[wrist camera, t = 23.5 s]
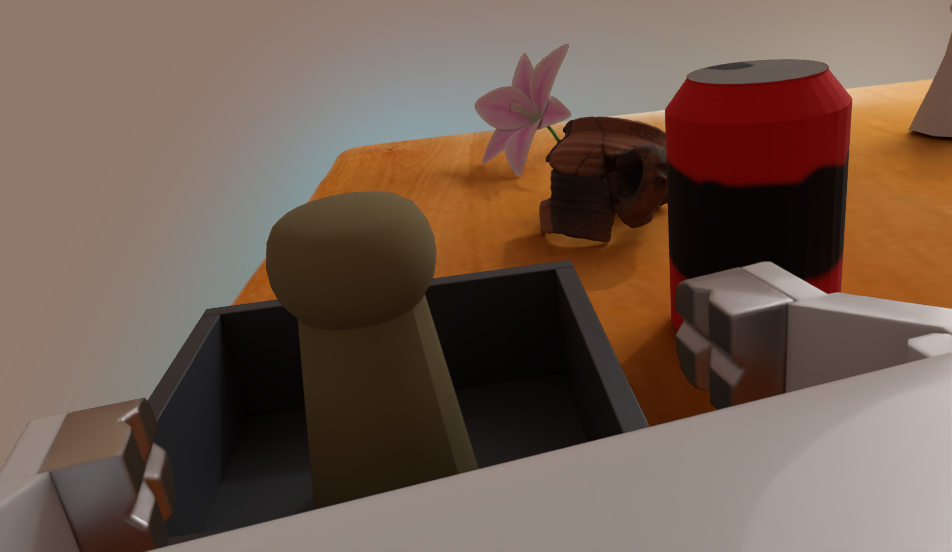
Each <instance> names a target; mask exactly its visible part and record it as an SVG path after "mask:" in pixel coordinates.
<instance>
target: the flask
mask: <svg viewBox="0 0 952 552" xmlns="http://www.w3.org/2000/svg"><path fill="white" fill-rule="evenodd" d="M950 10H951V12H952V4H951V6H950ZM909 130H913V131H917V132H920V133H924V134H927V135H931V136H943V137H952V34H951V37H950V41H949V44H948V47H947V51H946V54H945V56H944V59H943V61H942V63H941V65H940V67H939V69H938V71H937V73H936V76H935V78H934V80H933V82H932V84H931V86H930V88H929V90H928V92H927V94H926V96H925V98H924V100H923V102H922V104H921V106H920V108H919V110H918V112H917V114H916V116H915V118H914V120H913V122H912V124H911V126H910V128H909Z"/></svg>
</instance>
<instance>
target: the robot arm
mask: <svg viewBox="0 0 952 552" xmlns="http://www.w3.org/2000/svg"><path fill="white" fill-rule="evenodd" d="M675 310H676V311H677V312H678V313H679V315H680V316H681V317H682V318H683V319H684V322H683V324H682V325H681V327H680V329H679V330H678V332H677V334H676V344H677V355H678V358H679V362H680V365H681V368H682V371H683V373H684V374H685V376H686V378H687V379H688V381H689V382H690V383H691V384H692V385H693V386H694V387H695V388H696V389H699V390H703V391H706V392H709V393H710V403H711V404H712V405H713V406H714V407H715V408H716V409H717V410H716V411H712V412H708V413H704V414H700V415H696V416H692V417H688V418H684V419H680V420H676V421H672V422H668V423H664V424H660V425H656V426H652V427H647V428H643V429H639V430H635V431H631V432H627V433H623V434H619V435H615V436H611V437H607V438H603V439H599V440H595V441H591V442H587V443H583V444H579V445H575V446H571V447H567V448H563V449H559V450H555V451H551V452H547V453H542V454H538V455H534V456H530V457H526V458H522V459H518V460H514V461H510V462H506V463H502V464H498V465H494V466H490V467H486V468H482V469H478V470H474V471H470V472H466V473H462V474H458V475H454V476H450V477H446V478H441V479H437V480H433V481H429V482H425V483H421V484H417V485H413V486H409V487H405V488H401V489H397V490H393V491H389V492H385V493H381V494H377V495H373V496H369V497H365V498H361V499H357V500H353V501H349V502H345V503H340V504H336V505H332V506H328V507H324V508H320V509H316V510H312V511H308V512H304V513H300V514H296V515H292V516H288V517H284V518H280V519H276V520H272V521H268V522H264V523H260V524H256V525H252V526H248V527H244V528H239V529H235V530H231V531H227V532H223V533H219V534H215V535H211V536H207V537H203V538H199V539H195V540H191V541H187V542H183V543H179V544H175V545H171V546H167V541H168V537H169V535H168V532H167V529H166V526H165V522H166V521H167V520H168V519H169V518H170V517H171V516H172V515H173V512H174V506H175V483H174V478H173V473H172V468H171V464H170V461H169V458H168V454H167V451H165V450H164V449H162V448H161V447H160V446H158V445H157V444H155V443H154V442H153V441H154V437H155V434H156V430H157V426H158V424H157V421H156V418H155V416H154V413H153V410H152V407H151V405H150V403H149V402H148V401H147V400H146V399H145V398H140V399H135V400H131V401H125V402H121V403H116V404H110V405H105V406H100V407H95V408H90V409H85V410H81V411H75V412H72V413H70V412H65V413H61V414H58V415H54V416H49V417H45V418H41V419H37V420H33V421H30V422H28V424H27V425H26V427H25V429H24V431H23V432H22V434H21V436H20V438H19V439H18V441H17V443H16V445H15V446H14V448H13V449H12V451H11V453H10V455H9V456H8V458H7V460H6V461H5V464H4V465H3V467H2V468H1V470H0V552H952V309H948V308H941V307H934V306H927V305H920V304H913V303H906V302H900V301H893V300H886V299H879V298H872V297H865V296H858V295H852V294H845V293H838V292H836V293H831V294H826V293H825V292H823V291H821V290H819V289H818V288H816V287H814V286H812V285H811V284H809V283H807V282H805V281H804V280H802V279H800V278H798V277H796V276H795V275H793V274H791V273H789V272H788V271H786V270H784V269H782V268H781V267H779V266H777V265H775V264H773V263H772V262H760V263H756V264H753V265H749V266H745V267H742V268H740V267H737V268H733V269H729V270H725V271H721V272H717V273H713V274H709V275H704V276H700V277H696V278H692V279H688V280H684V281H682V282H680V283H679V284H677V287H676V292H675ZM166 546H167V547H166Z"/></svg>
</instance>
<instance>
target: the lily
mask: <svg viewBox="0 0 952 552" xmlns="http://www.w3.org/2000/svg"><path fill="white" fill-rule="evenodd" d="M568 48H569V44H565V45H563V46H560V47H559V48H557V49H556V50H554V51H553V52H551V53H550V54H549V55H547V56H546V57H545V58H543V59H542V60H541V62H539V63H538V64H537V65H536V67H535V68H534V69H533V67H532V64H531V62H530V60H529V58H528V56H527V55H526V53H523V55H522V56H521V58H520V60H519V62H518V65H517V67H516V70H515V74H514V77H513V81H512V86H511V87H510V86H508V87H501V88H498V89H495V90H493V91H491V92H489V93H487V94H485V95H484V96H482V97H481V98H479V99H478V100H477V101H476V103H475V109H476V111H477V113H478V114H479V115H480V116H481V117H482V119H483V120H484V121H485V122H487V123H488V124H489V125H490V126H492V127H494V128H497V129H496V130H495V132H494V133H493V135H492V137H491V139H490V141H489V144H488V146H487V148H486V151H485V154H484V157H483V164H485V163H487V162H488V161H490V160H491V159H492V158H494V157H495V156H496V155H498V154H499V153H500V152H502V151H503V150H504V149H505V154H506V157H507V160H508V162H509V165H510V167H511V168H512V170H513V172H514V173H515V175H516V176H519V177H520V175H521V174H522V172H523V169H524V166H525V163H526V159H527V156H528V152H529V149H530V145H531V142H532V139H533V137H534V134H535V132H536V130H539V129H542V128H545V127H547V128H548V129H549V130H550V132H551V133H552V134H553V136H554V137H555V139H556V141H557V142H559V140H560V139H559V138H558V136H557V135H556V133H555V131H554V130H553V129H552V128H551V127H550V126H551V125H553V124H556V123H558V122H561V121H563V120H565V119H568V118H569V117H570V116H571V113H570V111H569V110H568V109H567V108H566V107H565V106H564V105H563V104H562V103H561V102H560V101H559V100H558V99H556V98H555V97H553V96H550V91H551V89H552V85H553V83H554V80H555V77H556V75H557V73H558V70H559V68H560V66H561V64H562V62H563V60H564V58H565V56H566V53H567V51H568Z"/></svg>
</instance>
